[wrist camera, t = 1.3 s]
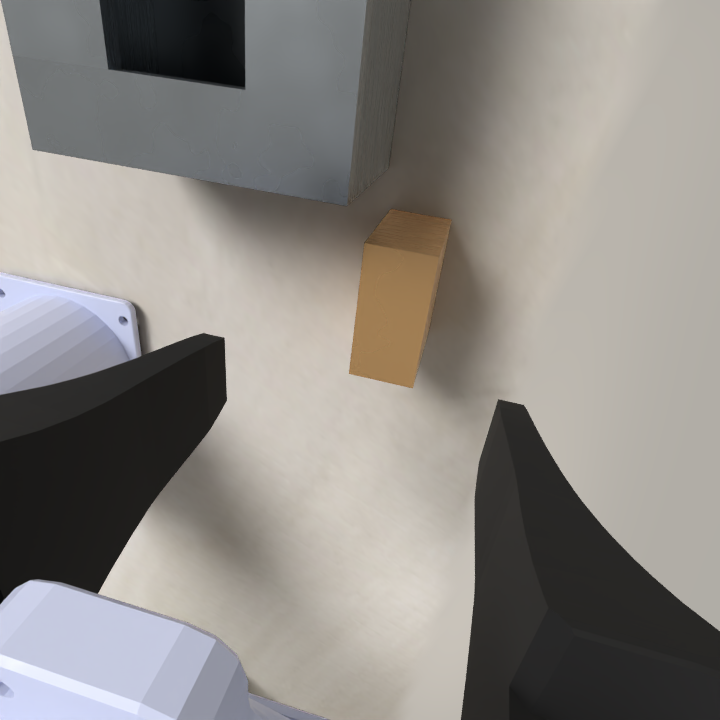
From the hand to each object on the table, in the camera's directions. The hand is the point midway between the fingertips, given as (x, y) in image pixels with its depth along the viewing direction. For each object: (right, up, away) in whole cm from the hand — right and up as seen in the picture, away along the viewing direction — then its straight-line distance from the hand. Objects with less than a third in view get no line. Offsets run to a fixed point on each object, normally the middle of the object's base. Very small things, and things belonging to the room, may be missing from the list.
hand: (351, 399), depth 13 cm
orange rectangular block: (+2, +5, +8) cm, 10 cm away
